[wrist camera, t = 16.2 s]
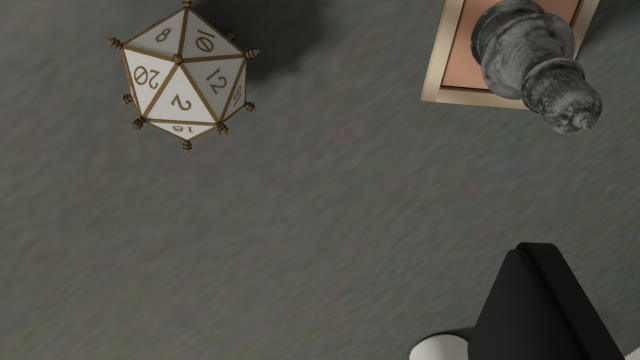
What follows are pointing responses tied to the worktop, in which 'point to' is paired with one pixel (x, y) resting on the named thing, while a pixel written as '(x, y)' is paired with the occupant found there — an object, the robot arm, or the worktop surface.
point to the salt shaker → (535, 64)
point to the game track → (461, 60)
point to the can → (440, 348)
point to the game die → (185, 75)
